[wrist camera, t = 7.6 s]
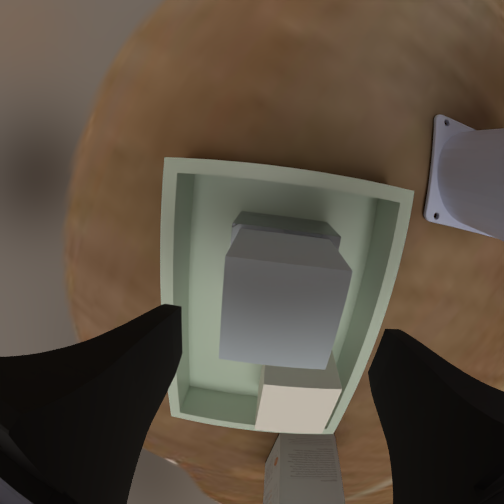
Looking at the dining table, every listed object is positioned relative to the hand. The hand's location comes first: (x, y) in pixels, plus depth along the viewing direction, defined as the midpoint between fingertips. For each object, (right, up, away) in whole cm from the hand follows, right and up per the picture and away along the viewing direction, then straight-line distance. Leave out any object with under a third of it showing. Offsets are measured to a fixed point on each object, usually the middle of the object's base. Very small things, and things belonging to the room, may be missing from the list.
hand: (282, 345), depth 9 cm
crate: (0, -1, +11) cm, 11 cm away
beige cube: (+2, -6, +12) cm, 13 cm away
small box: (+4, -19, +17) cm, 26 cm away
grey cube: (0, +2, +5) cm, 6 cm away
